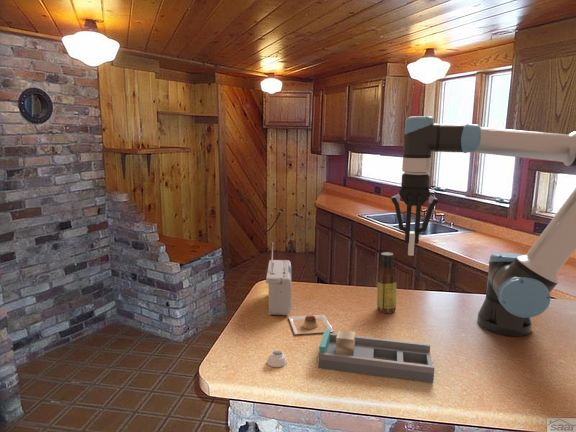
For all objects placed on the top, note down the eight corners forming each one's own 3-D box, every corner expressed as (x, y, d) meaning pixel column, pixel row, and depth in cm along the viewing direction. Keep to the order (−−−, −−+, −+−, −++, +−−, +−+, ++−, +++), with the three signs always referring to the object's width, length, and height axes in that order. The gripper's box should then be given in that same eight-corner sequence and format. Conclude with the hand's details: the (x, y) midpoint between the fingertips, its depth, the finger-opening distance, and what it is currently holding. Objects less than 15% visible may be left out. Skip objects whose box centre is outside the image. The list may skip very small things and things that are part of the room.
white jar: (276, 356, 116) (263, 363, 112) (276, 346, 115) (263, 353, 111) (290, 362, 113) (277, 370, 109) (290, 352, 112) (277, 360, 108)
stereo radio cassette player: (291, 317, 140) (291, 258, 136) (265, 317, 140) (265, 258, 136) (291, 293, 160) (291, 241, 156) (269, 293, 160) (269, 241, 156)
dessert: (334, 334, 129) (334, 319, 128) (294, 337, 127) (294, 322, 126) (324, 317, 141) (324, 304, 140) (288, 320, 139) (288, 306, 138)
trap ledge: (428, 357, 115) (430, 338, 114) (433, 382, 104) (434, 362, 103) (325, 345, 121) (325, 327, 120) (318, 368, 110) (318, 348, 109)
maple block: (354, 347, 115) (355, 331, 114) (353, 355, 111) (353, 339, 110) (337, 345, 116) (338, 330, 115) (335, 353, 112) (336, 337, 111)
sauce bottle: (398, 309, 146) (401, 252, 142) (392, 315, 141) (395, 257, 137) (379, 305, 150) (382, 249, 146) (373, 311, 144) (375, 254, 141)
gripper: (438, 172, 122) (433, 252, 127) (391, 171, 125) (387, 249, 130) (442, 175, 115) (435, 259, 120) (392, 173, 118) (387, 256, 123)
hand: (410, 254), depth 125 cm, fingers closed
